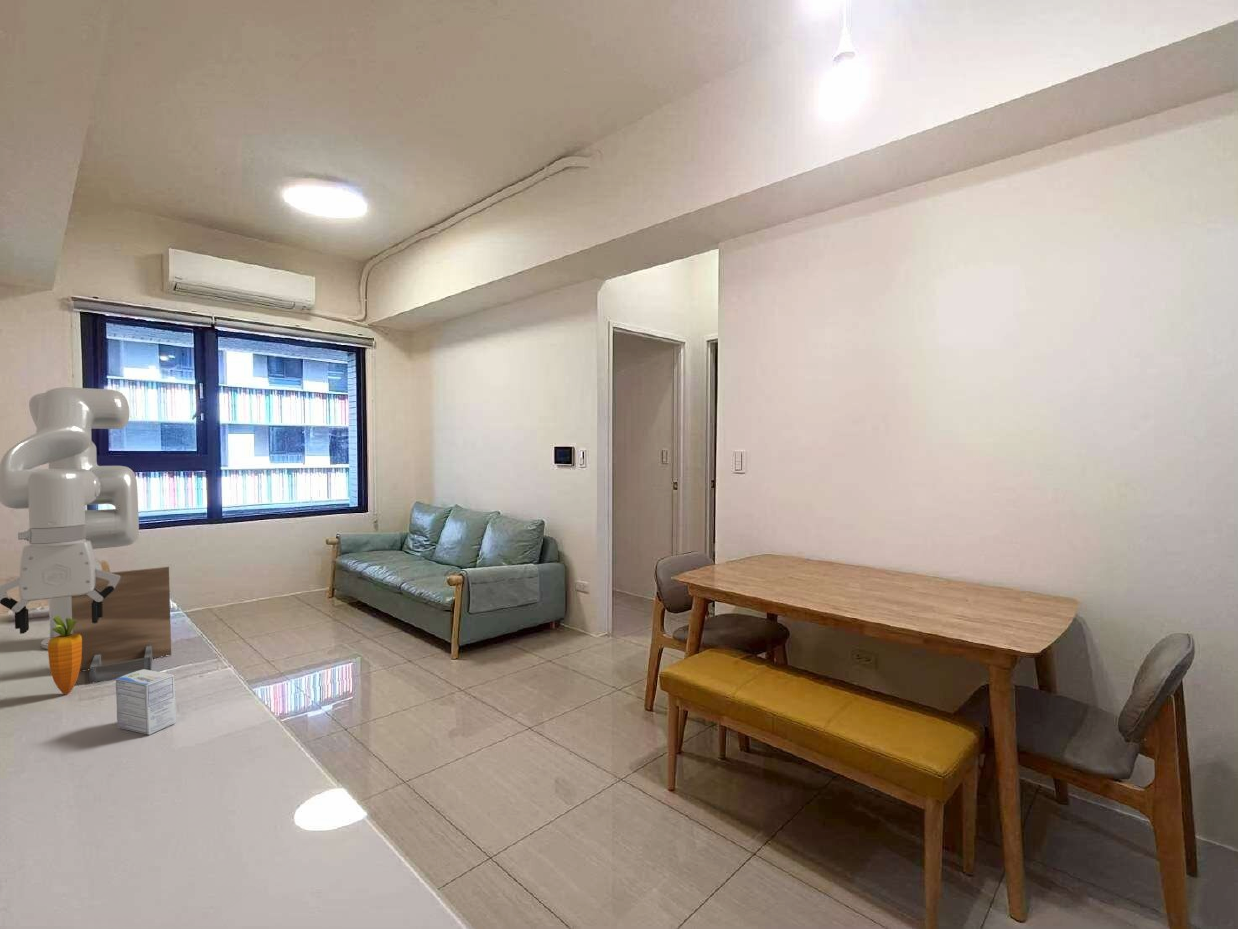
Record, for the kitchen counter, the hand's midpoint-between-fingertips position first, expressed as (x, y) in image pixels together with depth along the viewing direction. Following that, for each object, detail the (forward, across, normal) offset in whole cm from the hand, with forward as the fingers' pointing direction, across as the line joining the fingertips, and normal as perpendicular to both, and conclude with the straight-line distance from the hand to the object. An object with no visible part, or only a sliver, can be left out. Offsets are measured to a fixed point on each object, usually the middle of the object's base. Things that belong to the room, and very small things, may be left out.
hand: (60, 626), depth 107 cm
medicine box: (+14, +13, -24) cm, 31 cm away
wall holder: (+13, +8, +10) cm, 18 cm away
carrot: (+14, 0, +1) cm, 14 cm away
